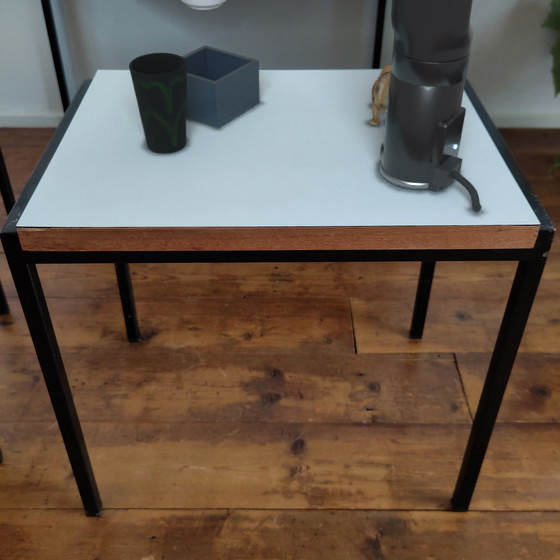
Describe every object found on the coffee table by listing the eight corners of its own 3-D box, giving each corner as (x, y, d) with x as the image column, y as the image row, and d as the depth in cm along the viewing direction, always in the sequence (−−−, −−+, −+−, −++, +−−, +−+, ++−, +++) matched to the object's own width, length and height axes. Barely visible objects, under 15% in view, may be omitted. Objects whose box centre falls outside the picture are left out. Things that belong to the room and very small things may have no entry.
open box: (259, 103, 115) (259, 60, 110) (217, 128, 108) (215, 84, 104) (207, 86, 119) (204, 45, 115) (164, 110, 113) (159, 67, 108)
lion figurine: (406, 137, 106) (413, 78, 100) (369, 136, 106) (374, 77, 101) (399, 94, 117) (406, 39, 112) (366, 93, 118) (371, 38, 112)
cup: (129, 151, 102) (118, 70, 95) (155, 128, 108) (145, 49, 100) (178, 161, 100) (170, 78, 93) (202, 136, 106) (196, 57, 98)
